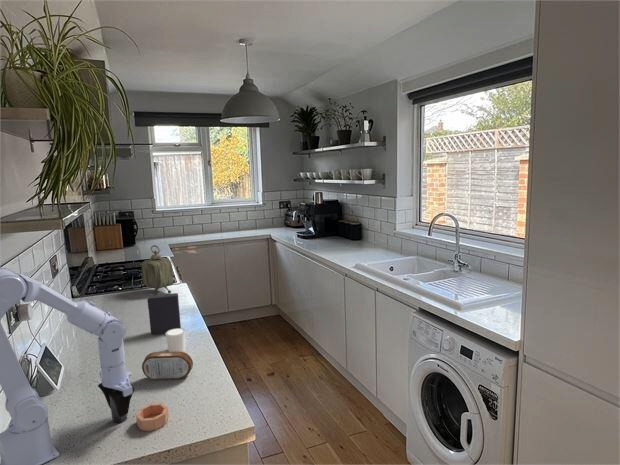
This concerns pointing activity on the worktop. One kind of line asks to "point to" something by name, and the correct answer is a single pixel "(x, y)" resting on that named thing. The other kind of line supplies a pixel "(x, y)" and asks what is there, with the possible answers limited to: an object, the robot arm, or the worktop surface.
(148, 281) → the tabletop clock
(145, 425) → the cup
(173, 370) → the tin
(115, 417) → the cell
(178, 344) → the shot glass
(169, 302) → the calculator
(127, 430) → the worktop surface
